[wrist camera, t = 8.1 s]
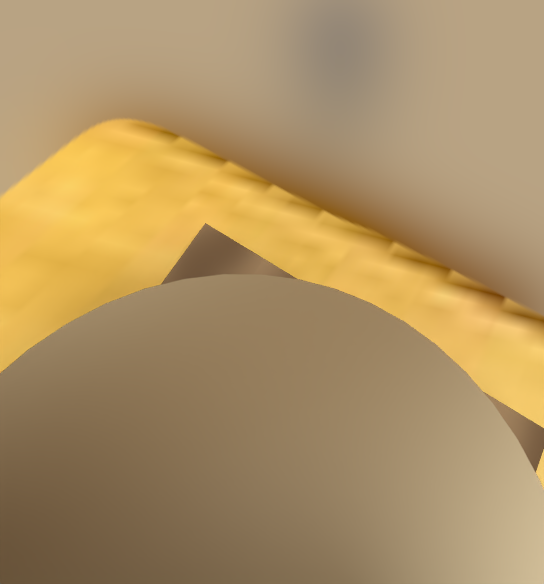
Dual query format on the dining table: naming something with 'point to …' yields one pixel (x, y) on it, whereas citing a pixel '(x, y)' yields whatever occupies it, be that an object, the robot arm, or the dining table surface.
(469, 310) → the dining table surface
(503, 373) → the dining table surface
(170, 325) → the peg
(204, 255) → the board
